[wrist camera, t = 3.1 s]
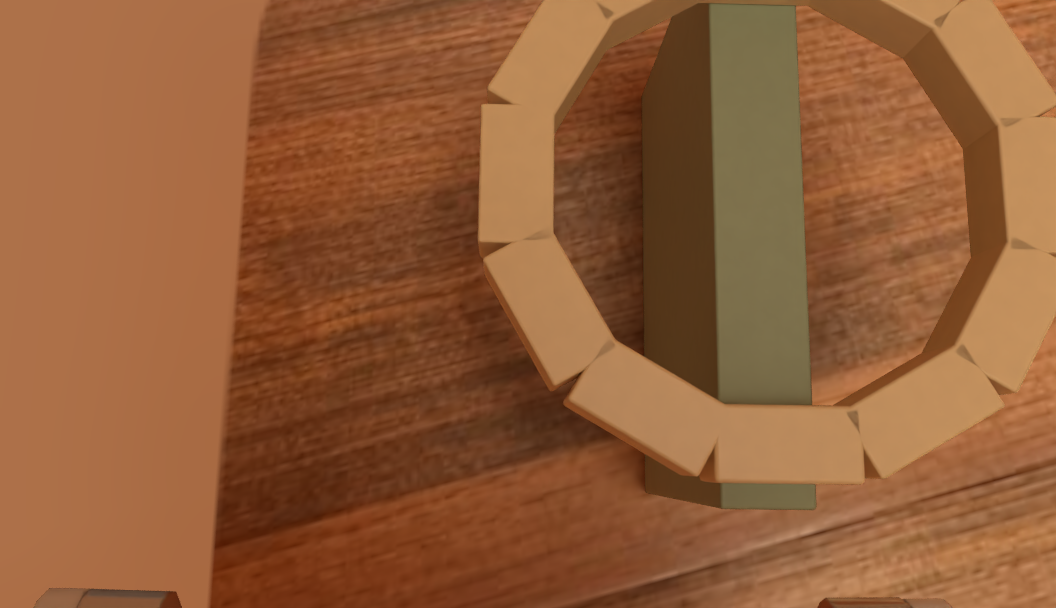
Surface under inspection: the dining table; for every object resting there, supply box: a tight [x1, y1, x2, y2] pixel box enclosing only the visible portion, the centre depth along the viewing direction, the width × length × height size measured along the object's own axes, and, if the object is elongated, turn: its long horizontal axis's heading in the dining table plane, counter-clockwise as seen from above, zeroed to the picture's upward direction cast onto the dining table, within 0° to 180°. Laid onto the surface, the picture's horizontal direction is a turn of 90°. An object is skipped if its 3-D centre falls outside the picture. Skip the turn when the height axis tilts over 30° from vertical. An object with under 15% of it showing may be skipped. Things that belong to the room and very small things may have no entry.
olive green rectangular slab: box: [642, 3, 816, 510], centre depth 25 cm, size 2×13×10 cm, turn 179°
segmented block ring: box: [478, 0, 1056, 485], centre depth 19 cm, size 12×12×2 cm
